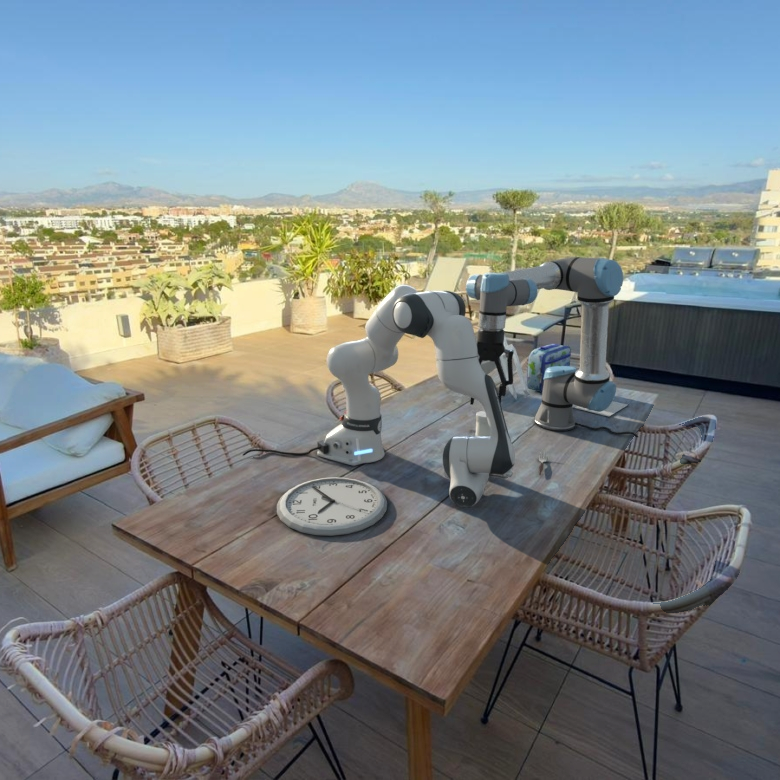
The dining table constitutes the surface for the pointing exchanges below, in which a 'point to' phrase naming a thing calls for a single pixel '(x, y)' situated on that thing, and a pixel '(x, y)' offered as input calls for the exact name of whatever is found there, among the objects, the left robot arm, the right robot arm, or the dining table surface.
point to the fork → (542, 461)
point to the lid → (481, 417)
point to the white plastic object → (490, 366)
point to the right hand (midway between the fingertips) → (485, 404)
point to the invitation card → (609, 411)
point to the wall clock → (331, 506)
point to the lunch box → (545, 363)
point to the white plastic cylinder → (482, 429)
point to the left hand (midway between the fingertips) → (482, 453)
